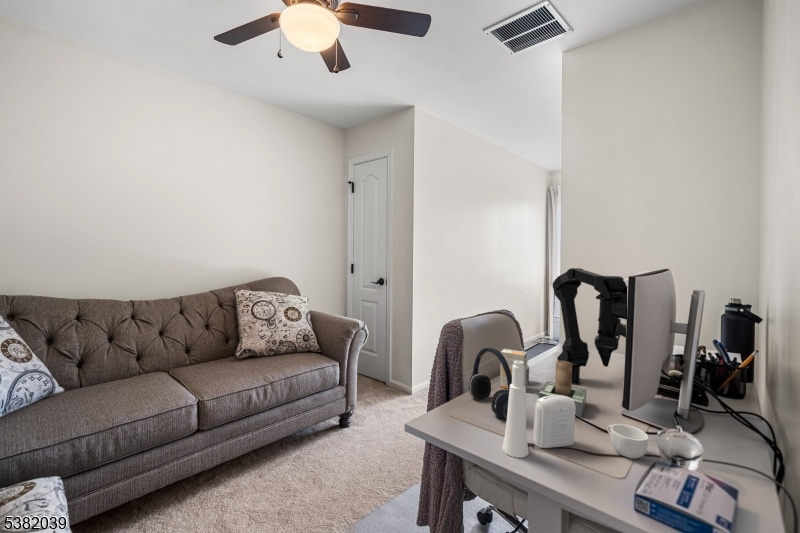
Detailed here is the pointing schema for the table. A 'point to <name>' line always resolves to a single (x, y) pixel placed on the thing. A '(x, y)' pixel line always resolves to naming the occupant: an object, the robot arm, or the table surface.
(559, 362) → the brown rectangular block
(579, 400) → the money box
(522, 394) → the cosmetic bottle
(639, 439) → the teacup
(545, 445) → the photo printer
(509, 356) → the supplement box
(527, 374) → the pill bottle
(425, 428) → the table surface
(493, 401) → the headphones
